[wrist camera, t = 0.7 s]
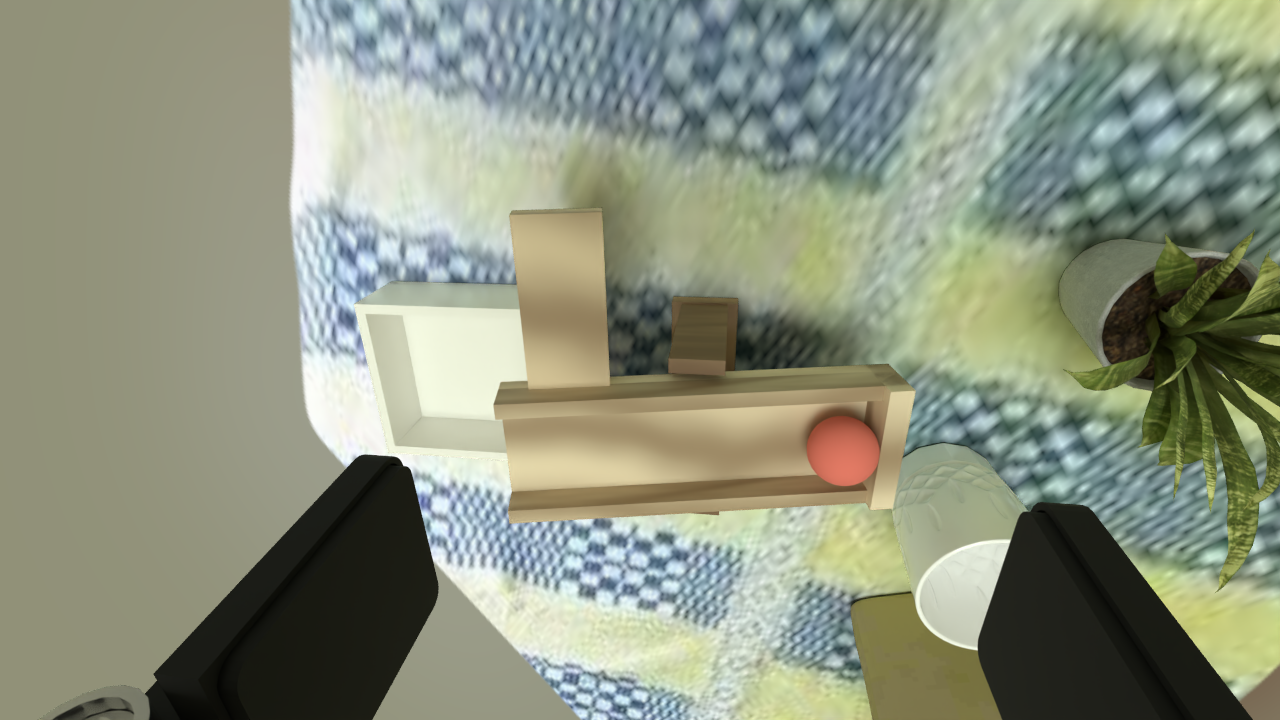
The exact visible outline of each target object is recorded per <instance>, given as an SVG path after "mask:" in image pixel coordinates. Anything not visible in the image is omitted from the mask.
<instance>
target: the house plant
mask: <svg viewBox="0 0 1280 720" xmlns="http://www.w3.org/2000/svg"><path fill="white" fill-rule="evenodd" d="M1254 230H1255V228H1254ZM1253 235H1254V231H1253V233H1252V234H1251V235H1249V236H1248V237H1247V238H1245V239H1244V240H1243V241H1241V242H1240V243H1239V244H1238V245H1237V246H1236V247H1235V249H1234V250H1233V251H1232V252H1231V253H1230V254H1229V253H1223V252H1217V251H1210V250H1203V249H1196V248H1188V247H1181V246H1176V245H1175V244H1174V243H1172V242H1171V240H1170V239H1169V238H1168V236H1167V235H1166V234H1165V238H1166V244H1159V243H1152V242H1145V241H1137V240H1130V239H1116V240H1109V241H1105V242H1102V243H1099V244H1096V245H1094V246H1092V247H1090V248H1089V249H1087V250H1085V251H1083V252H1082V253H1081V254H1080V255H1078V256H1077V257H1076V258H1075V259H1074V260H1073V261H1072V262H1071V263H1070V264H1069V266H1068V267H1067V268H1066V269H1065V271H1064V273H1063V275H1062V277H1061V279H1060V281H1059V298H1060V304H1061V307H1062V309H1063V312H1064V314H1065V315H1066V317H1067V318H1068V319H1069V321H1070V322H1071V323H1072V325H1073V326H1074V328H1075V329H1076V330H1077V332H1078V333H1079V334H1080V336H1081V337H1082V338H1083V340H1084V341H1085V343H1086V344H1087V345H1088V347H1089V348H1090V349H1091V351H1092V352H1093V353H1094V355H1095V356H1096V357H1097V359H1098V360H1099V362H1100V363H1101V364H1102V366H1103V368H1100V369H1096V370H1093V371H1089V372H1075V373H1073V372H1070V371H1067V370H1065V371H1066V372H1068V373H1069V374H1070V375H1072V376H1073V377H1074V378H1075V379H1076V380H1077V381H1078V382H1079V383H1080V384H1081V385H1082V386H1083V387H1084V388H1087V389H1091V390H1108V389H1112V388H1115V387H1118V386H1120V385H1122V384H1127V385H1129V386H1131V387H1133V388H1138V389H1143V390H1149V391H1152V394H1151V397H1150V400H1149V403H1148V406H1147V409H1146V412H1145V415H1144V418H1143V425H1142V432H1143V439H1142V443H1141V445H1140V446H1139V447H1143V446H1146V445H1150V444H1153V443H1157V442H1160V441H1163V442H1162V444H1161V447H1160V450H1159V461H1160V462H1159V463H1158V465H1159V466H1165V465H1176V469H1175V484H1174V497H1175V494H1176V491H1177V488H1178V485H1179V480H1180V476H1181V472H1182V469H1183V464H1189V463H1193V462H1196V461H1198V460H1201V459H1203V464H1204V470H1205V475H1206V482H1207V492H1208V499H1209V508H1210V512H1211V507H1212V503H1213V500H1214V491H1215V485H1216V477H1217V467H1216V461H1215V451H1214V444H1215V438H1216V441H1217V444H1218V447H1219V451H1220V454H1221V458H1222V462H1223V467H1224V472H1225V476H1226V484H1227V494H1228V513H1227V527H1228V541H1229V543H1228V556H1227V558H1226V561H1225V563H1224V566H1223V568H1222V570H1221V573H1220V578H1219V589H1218V590H1217V591H1219V590H1220V589H1221V588H1223V587H1224V586H1225V585H1226V583H1227V582H1228V581H1229V580H1230V579H1231V578H1232V576H1233V575H1234V574H1235V573H1236V572H1237V571H1238V570H1239V569H1240V567H1241V566H1242V564H1243V562H1244V561H1245V559H1246V557H1247V555H1248V553H1249V551H1250V550H1251V548H1252V546H1253V542H1254V538H1255V535H1256V531H1257V527H1258V514H1259V502H1261V501H1263V500H1264V499H1266V498H1267V497H1268V496H1269V495H1270V494H1271V493H1272V492H1273V491H1274V490H1275V489H1276V488H1277V487H1278V486H1279V483H1280V447H1279V445H1278V442H1279V443H1280V422H1279V421H1278V420H1277V419H1276V418H1274V417H1273V416H1272V415H1271V414H1269V413H1268V412H1267V411H1266V410H1264V409H1263V408H1262V407H1261V406H1259V405H1258V404H1257V403H1255V402H1254V401H1253V400H1252V399H1250V398H1249V397H1248V396H1247V395H1246V393H1245V392H1244V391H1243V390H1242V388H1241V387H1240V386H1239V385H1238V383H1237V382H1236V381H1235V380H1234V379H1233V378H1235V379H1236V380H1238V381H1240V382H1242V383H1244V384H1245V385H1246V386H1248V387H1249V388H1251V389H1252V390H1253V391H1255V392H1257V393H1258V394H1260V395H1261V396H1263V397H1265V398H1266V399H1268V400H1270V401H1271V402H1273V403H1274V404H1276V405H1278V406H1279V407H1280V346H1274V345H1268V344H1264V343H1260V342H1258V341H1259V339H1260V338H1261V336H1262V335H1268V334H1272V335H1280V282H1278V281H1279V277H1280V267H1279V266H1278V265H1277V264H1276V263H1275V262H1274V261H1272V260H1271V259H1270V257H1269V256H1268V255H1269V252H1270V250H1269V252H1268V254H1267V255H1266V257H1265V259H1264V261H1263V263H1262V265H1261V268H1260V271H1259V270H1258V269H1257V268H1256V267H1255V266H1254V265H1253V264H1252V263H1251V262H1249V261H1247V260H1244V259H1242V258H1243V256H1244V254H1245V252H1246V250H1247V248H1248V246H1249V244H1250V242H1251V240H1252V238H1253ZM1270 249H1271V248H1270ZM1063 370H1064V369H1063ZM1221 374H1224V375H1225V376H1226V378H1227V379H1228V380H1229V381H1228V380H1226V379H1225V378H1224V377H1223V376H1222V375H1221ZM1217 391H1218V392H1219V393H1220V394H1222V395H1223V396H1224V397H1225V398H1226V399H1227V400H1228V401H1229V402H1230V403H1232V404H1233V405H1234V406H1235V407H1236V408H1238V409H1239V410H1240V411H1241V412H1243V413H1244V414H1245V415H1246V416H1247V417H1249V418H1250V419H1251V420H1253V421H1254V422H1255V423H1257V425H1258V427H1259V429H1260V431H1261V433H1262V436H1263V439H1264V442H1265V445H1266V451H1267V469H1266V478H1265V481H1264V484H1263V486H1262V487H1261V488H1260V490H1259V487H1258V482H1257V477H1256V471H1255V467H1254V466H1253V464H1252V462H1251V460H1250V458H1249V456H1248V454H1247V452H1246V450H1245V448H1244V446H1243V444H1242V442H1241V439H1240V437H1239V435H1238V432H1237V430H1236V427H1235V425H1234V423H1233V421H1232V419H1231V417H1230V415H1229V412H1228V410H1227V408H1226V406H1225V405H1224V403H1223V401H1222V399H1221V397H1220V395H1219V393H1218V392H1217ZM1277 441H1278V442H1277ZM1139 447H1137V448H1139ZM1173 503H1174V502H1173ZM1217 591H1216V592H1217ZM1216 592H1215V593H1216Z"/></svg>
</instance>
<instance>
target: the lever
mask: <svg viewBox="0 0 1280 720" xmlns="http://www.w3.org/2000/svg"><path fill="white" fill-rule="evenodd" d="M509 217H510V226H511V235H512V244H513V253H514V262H515V271H516V280H517V289H518V299H519V308H520V317H521V326H522V335H523V344H524V353H525V362H526V371H527V380H528V381H509V382H500V385H499V389H498V392H497V395H496V398H495V401H494V404H493V407H494V414H495V420H502V421H503V428H504V436H505V443H506V451H507V458H508V466H509V473H510V480H511V488H512V494H511V499H510V504H509V509H508V514H509V522H510V523H527V522H544V521H561V520H578V519H596V518H613V517H630V516H647V515H665V514H682V513H699V512H716V511H733V510H751V509H768V508H785V507H802V506H819V505H837V504H854V503H866V504H867V506H868V507H869V509H870V510H880V509H893V504H894V499H895V494H896V489H897V484H898V479H899V474H900V468H901V463H902V458H903V453H904V448H905V443H906V438H907V433H908V428H909V422H910V417H911V412H912V407H913V402H914V397H915V392H916V391H915V390H914V389H913V388H912V387H911V386H910V385H909V384H908V383H907V382H906V381H905V380H904V379H903V378H902V377H901V376H900V375H899V374H898V373H897V372H896V371H895V370H894V369H893V368H892V367H891V366H890V365H889V364H875V365H853V366H832V367H810V368H789V369H767V370H746V371H725V376H721V375H699V374H660V375H638V376H617V377H610V372H609V350H608V328H607V306H606V284H605V262H604V240H603V219H602V208H576V209H545V210H514V211H512V212H511V213H510V215H509ZM835 416H848V417H852V418H855V419H858V420H860V421H861V422H863V423H864V424H866V425H867V426H868V427H869V428H870V429H871V430H872V431H873V433H874V434H875V436H876V438H877V441H878V444H879V449H880V456H879V461H878V465H877V467H876V469H875V470H874V472H873V473H872V474H871V476H870V477H868V478H867V479H866V480H864V481H863V482H861V483H858V484H856V485H851V486H839V485H834V484H831V483H829V482H827V481H825V480H823V479H822V478H821V477H819V476H818V475H817V474H816V473H815V471H814V470H813V469H812V467H811V465H810V463H809V461H808V457H807V442H808V438H809V436H810V434H811V432H812V431H813V429H814V428H815V427H816V426H817V425H818V424H819V423H821V422H822V421H824V420H826V419H828V418H831V417H835Z"/></svg>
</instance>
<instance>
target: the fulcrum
mask: <svg viewBox="0 0 1280 720" xmlns="http://www.w3.org/2000/svg"><path fill="white" fill-rule="evenodd" d="M737 317H738V298H708V297H673V300H672V346H671V350H670V354H669V358H668V373H672V374H699V375H721V376H725V371H735V355H736V336H737ZM697 514H710V515H719V511H716V512H699V513H697Z"/></svg>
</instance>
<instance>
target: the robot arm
mask: <svg viewBox="0 0 1280 720" xmlns="http://www.w3.org/2000/svg"><path fill="white" fill-rule="evenodd" d="M437 596H438V580H437V576H436V572H435V568H434V563H433V559H432V555H431V551H430V547H429V543H428V539H427V535H426V530H425V526H424V522H423V518H422V514H421V510H420V506H419V501H418V497H417V493H416V489H415V485H414V481H413V477H412V473H411V470H410V469H409V468H408V467H406V466H403V464H402V462H401V460H400V459H399V458H397V457H393V456H378V455H361V456H359V457H357V458H356V459H355V460H354V461H353V462H352V463H351V464H350V465H349V466H348V467H347V468H346V469H345V470H344V472H343V473H342V474H341V475H340V476H339V477H338V478H337V479H336V480H335V481H334V482H333V483H332V484H331V486H329V488H328V489H327V490H326V491H325V492H324V493H323V494H322V495H321V496H320V497H319V498H318V499H317V500H316V501H315V502H314V504H313V505H312V506H311V507H310V508H309V509H308V510H307V511H306V512H305V513H304V514H303V515H302V516H301V517H300V518H299V519H298V521H297V522H296V523H295V524H294V525H293V526H292V527H291V528H290V529H289V530H288V531H287V532H286V533H285V534H284V535H283V536H282V538H281V539H280V540H279V541H278V542H277V543H276V544H275V545H274V546H273V547H272V548H271V549H270V550H269V551H268V552H267V554H266V555H265V556H264V557H263V558H262V559H261V560H260V561H259V562H258V563H257V564H256V565H255V566H254V567H253V568H252V569H251V571H250V572H249V573H248V574H247V575H246V576H245V577H244V578H243V579H242V580H241V581H240V582H239V583H238V584H237V585H236V587H235V588H234V589H233V590H232V591H231V592H230V593H229V594H228V595H227V596H226V597H225V598H224V599H223V600H222V601H221V603H220V604H219V605H218V606H217V607H216V608H215V609H214V610H213V611H212V612H211V613H210V614H209V615H208V616H207V617H206V618H205V620H204V621H203V622H202V623H201V624H200V625H199V626H198V627H197V628H196V629H195V630H194V632H192V633H191V635H190V636H189V637H188V638H187V639H186V640H185V641H184V642H183V643H182V644H181V645H180V646H179V647H178V648H177V650H175V651H174V653H173V654H172V655H171V656H170V657H169V658H168V659H167V660H166V661H165V662H164V663H163V664H162V665H161V666H160V667H159V668H158V670H157V671H156V672H155V673H154V676H155V678H156V679H157V681H156V682H155V684H154V685H153V686H152V687H151V688H150V689H149V690H148V691H147V692H146V693H145V694H144V693H143V692H142V691H141V690H140V689H139V688H134V687H130V686H126V685H121V686H110V687H104V688H100V689H97V690H94V691H91V692H87V693H84V694H82V695H80V696H78V697H76V698H73V699H71V700H70V701H67V702H65V703H63V704H61V705H59V706H58V707H56V708H55V709H53V710H52V711H50V712H49V713H47V714H46V715H44V716H43V717H41V718H40V719H38V720H372V719H373V717H374V716H375V714H376V712H377V710H378V708H379V706H380V705H381V702H382V701H383V699H384V697H385V695H386V694H387V692H388V690H389V688H390V686H391V685H392V683H393V681H394V679H395V677H396V675H397V674H398V672H399V670H400V668H401V666H402V664H403V663H404V661H405V659H406V657H407V655H408V653H409V652H410V650H411V648H412V646H413V644H414V642H415V641H416V639H417V637H418V635H419V633H420V632H421V630H422V628H423V626H424V624H425V622H426V621H427V619H428V616H429V615H430V613H431V612H432V610H433V608H434V606H435V603H436V600H437ZM977 648H978V657H979V661H980V664H981V667H982V670H983V672H984V675H985V677H986V680H987V683H988V685H989V688H990V690H991V693H992V695H993V698H994V700H995V703H996V705H997V708H998V711H999V713H1000V716H1001V718H1002V720H1253V719H1252V718H1251V717H1250V715H1249V714H1248V713H1247V712H1246V710H1245V709H1244V708H1243V706H1242V705H1241V704H1240V702H1239V701H1238V700H1237V698H1236V697H1235V696H1234V695H1233V693H1232V692H1231V691H1230V689H1229V688H1228V687H1227V685H1226V684H1225V683H1224V682H1223V680H1222V679H1221V678H1220V676H1219V675H1218V674H1217V672H1216V671H1215V670H1214V668H1213V667H1212V666H1211V665H1210V663H1209V662H1208V661H1207V659H1206V658H1205V657H1204V655H1203V654H1202V653H1201V652H1200V650H1199V649H1198V648H1197V646H1196V645H1195V644H1194V642H1193V641H1192V640H1191V639H1190V637H1189V636H1188V635H1187V633H1186V632H1185V631H1184V629H1183V628H1182V627H1181V626H1180V624H1179V623H1178V622H1177V620H1176V619H1175V618H1174V616H1173V615H1172V614H1171V613H1170V611H1169V610H1168V609H1167V607H1166V606H1165V605H1164V603H1163V602H1162V601H1161V600H1160V598H1159V597H1158V596H1157V594H1156V593H1155V592H1154V590H1153V589H1152V588H1151V587H1150V585H1149V584H1148V583H1147V581H1146V580H1145V579H1144V577H1143V576H1142V575H1141V574H1140V572H1139V571H1138V570H1137V568H1136V567H1135V566H1134V564H1133V563H1132V562H1131V561H1130V559H1129V558H1128V557H1127V555H1126V554H1125V553H1124V551H1123V550H1122V549H1121V547H1120V546H1119V545H1118V544H1117V542H1116V541H1115V540H1114V538H1113V537H1112V536H1111V534H1110V533H1109V532H1108V531H1107V529H1106V528H1105V527H1104V525H1103V524H1102V523H1101V521H1100V520H1099V519H1098V518H1097V516H1096V515H1095V514H1094V512H1093V511H1092V510H1090V509H1089V508H1088V507H1086V506H1084V505H1074V504H1060V503H1046V502H1040V503H1037V504H1036V505H1034V506H1033V508H1032V510H1031V512H1028V511H1026V512H1022V513H1021V514H1020V516H1019V518H1018V520H1017V523H1016V526H1015V529H1014V532H1013V535H1012V538H1011V541H1010V544H1009V547H1008V550H1007V553H1006V556H1005V559H1004V562H1003V565H1002V568H1001V571H1000V574H999V577H998V580H997V583H996V586H995V589H994V592H993V595H992V598H991V601H990V604H989V607H988V610H987V613H986V616H985V619H984V622H983V625H982V628H981V631H980V634H979V638H978V647H977Z"/></svg>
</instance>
